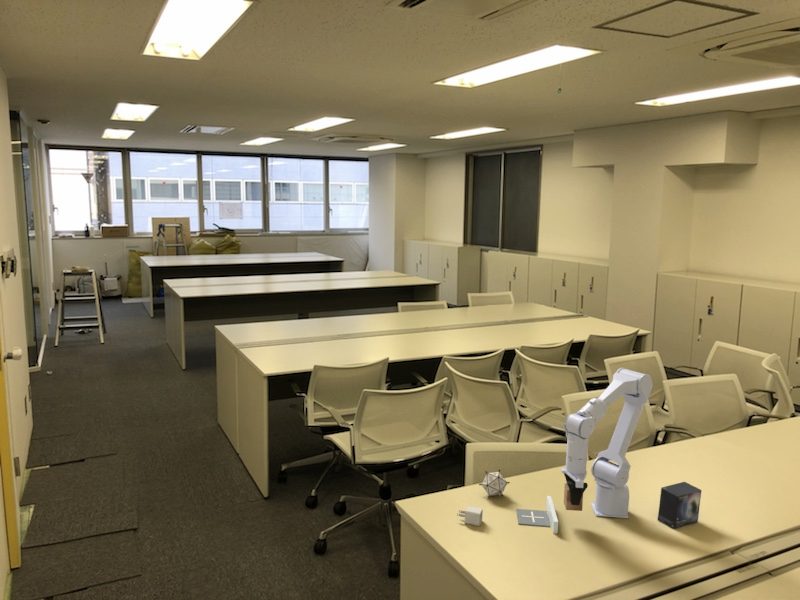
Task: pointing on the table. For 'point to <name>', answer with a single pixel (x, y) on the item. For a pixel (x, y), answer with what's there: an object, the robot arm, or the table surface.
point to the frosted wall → (552, 515)
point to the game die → (494, 483)
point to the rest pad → (532, 517)
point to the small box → (679, 505)
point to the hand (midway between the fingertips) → (573, 500)
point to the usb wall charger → (472, 515)
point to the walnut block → (568, 501)
